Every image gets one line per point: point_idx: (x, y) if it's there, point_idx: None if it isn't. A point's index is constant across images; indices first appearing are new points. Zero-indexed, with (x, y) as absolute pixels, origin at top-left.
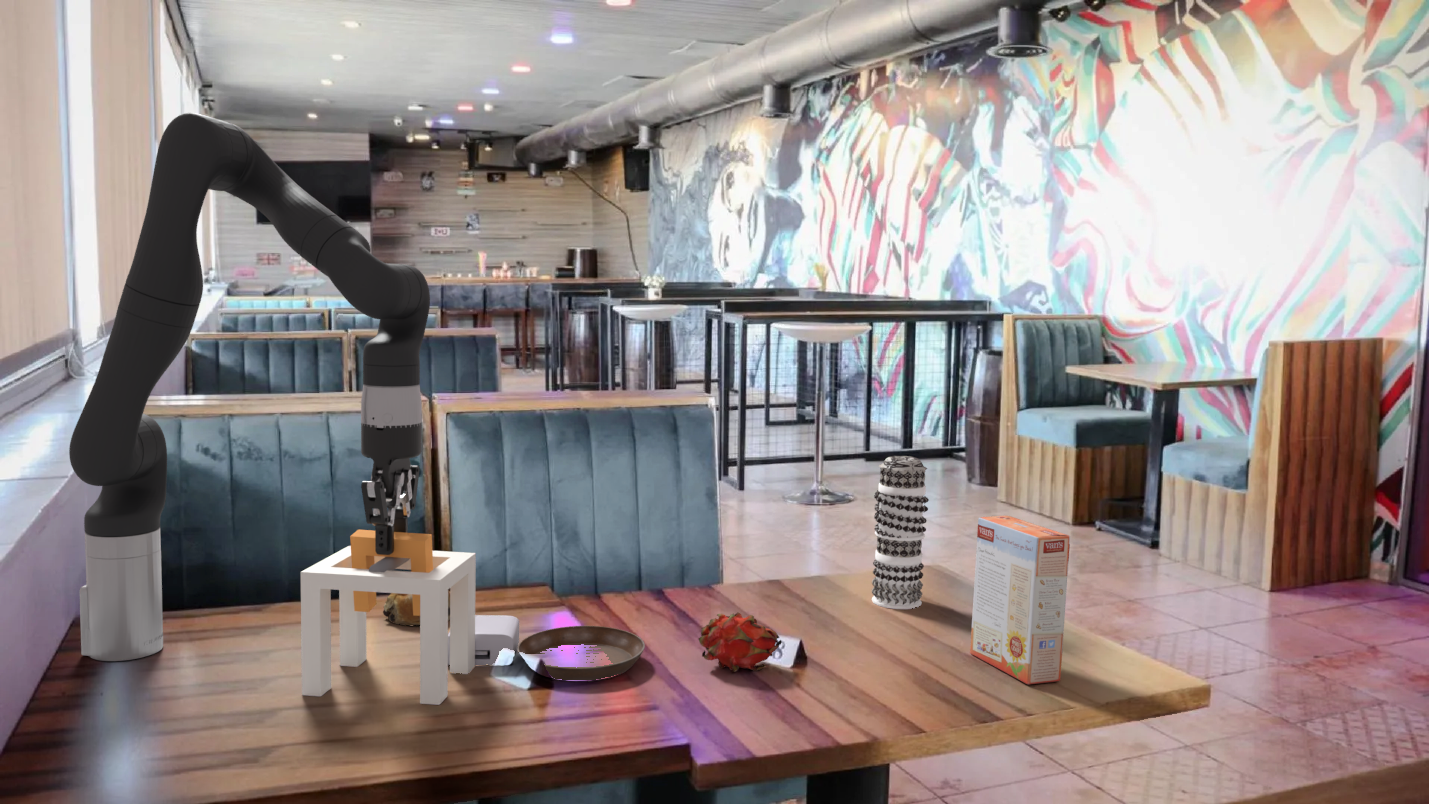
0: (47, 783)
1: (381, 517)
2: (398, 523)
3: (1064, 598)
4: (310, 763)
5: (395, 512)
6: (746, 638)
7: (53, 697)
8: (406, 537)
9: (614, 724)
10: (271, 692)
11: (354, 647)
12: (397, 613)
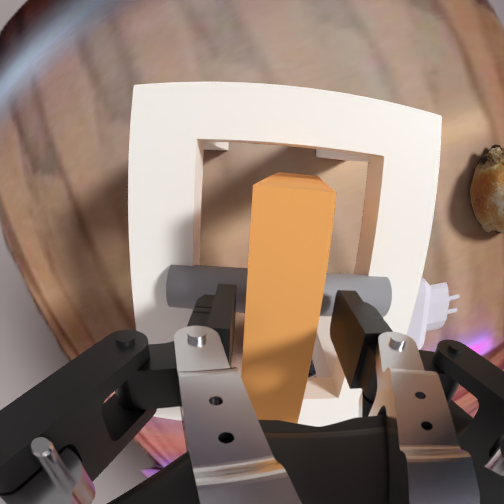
0: (4, 41)
1: (106, 403)
2: (352, 353)
3: None
4: (39, 223)
5: (372, 367)
6: None
7: None
8: (264, 381)
9: (184, 440)
10: (203, 80)
11: (322, 152)
12: (480, 170)
